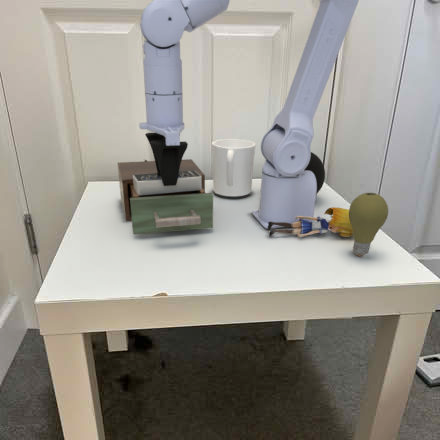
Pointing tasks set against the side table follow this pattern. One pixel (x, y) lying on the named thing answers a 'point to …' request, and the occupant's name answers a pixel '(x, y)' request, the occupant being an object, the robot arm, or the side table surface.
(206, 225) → the drawer
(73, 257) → the side table surface
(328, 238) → the side table surface
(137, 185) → the multiport hub
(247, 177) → the mug
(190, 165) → the cabinet
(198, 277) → the side table surface
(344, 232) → the figurine
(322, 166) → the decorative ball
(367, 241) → the light bulb
